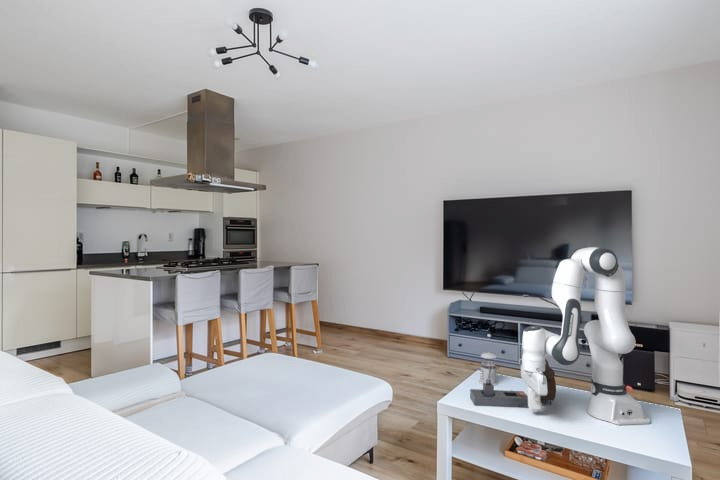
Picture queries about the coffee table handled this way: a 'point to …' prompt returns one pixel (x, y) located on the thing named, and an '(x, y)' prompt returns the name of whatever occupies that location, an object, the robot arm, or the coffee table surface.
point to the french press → (488, 369)
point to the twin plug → (488, 388)
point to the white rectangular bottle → (532, 400)
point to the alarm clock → (549, 384)
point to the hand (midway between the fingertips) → (534, 398)
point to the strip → (499, 398)
